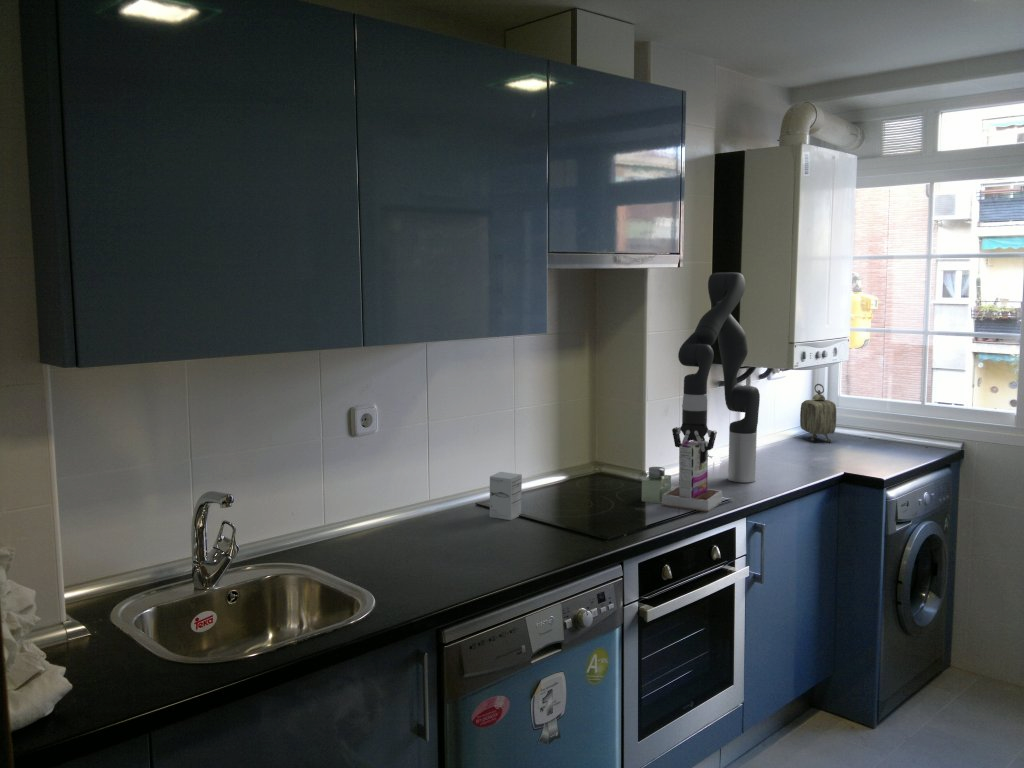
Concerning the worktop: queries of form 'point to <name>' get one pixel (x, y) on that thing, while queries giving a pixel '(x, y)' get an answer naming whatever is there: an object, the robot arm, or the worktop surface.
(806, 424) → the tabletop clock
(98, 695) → the worktop surface
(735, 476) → the robot arm
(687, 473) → the candy bar box
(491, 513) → the supplement box
